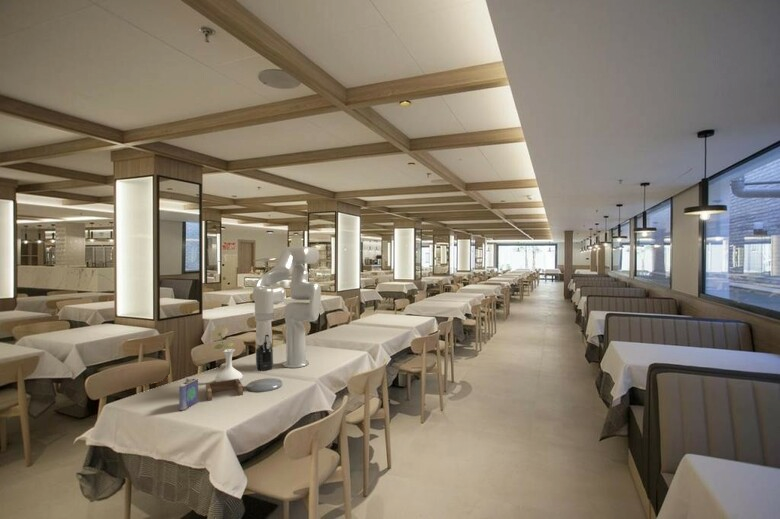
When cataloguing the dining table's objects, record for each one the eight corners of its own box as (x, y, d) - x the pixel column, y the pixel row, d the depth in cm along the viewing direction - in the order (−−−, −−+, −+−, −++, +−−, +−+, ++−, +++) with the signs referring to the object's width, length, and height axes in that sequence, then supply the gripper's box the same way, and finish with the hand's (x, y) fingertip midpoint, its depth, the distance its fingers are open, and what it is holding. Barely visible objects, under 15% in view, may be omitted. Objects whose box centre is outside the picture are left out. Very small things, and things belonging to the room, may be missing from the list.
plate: (244, 384, 166) (244, 381, 166) (277, 379, 173) (277, 376, 173) (250, 394, 154) (250, 391, 154) (285, 388, 161) (285, 385, 161)
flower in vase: (239, 376, 179) (239, 321, 178) (245, 382, 169) (244, 325, 169) (208, 381, 171) (208, 324, 171) (213, 388, 162) (212, 328, 162)
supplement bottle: (255, 368, 165) (255, 340, 165) (272, 366, 168) (271, 338, 168) (256, 372, 159) (256, 343, 159) (273, 370, 162) (273, 341, 162)
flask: (184, 411, 138) (183, 381, 138) (176, 411, 138) (176, 381, 138) (199, 401, 147) (199, 373, 147) (192, 401, 147) (192, 373, 147)
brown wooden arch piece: (205, 392, 157) (205, 383, 157) (238, 386, 163) (238, 378, 163) (208, 400, 147) (208, 391, 147) (242, 394, 154) (242, 386, 154)
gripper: (251, 315, 169) (251, 356, 169) (259, 320, 154) (259, 365, 154) (268, 314, 173) (268, 354, 173) (278, 319, 158) (278, 362, 158)
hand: (264, 359), depth 164 cm, fingers closed on supplement bottle, 6 cm apart
